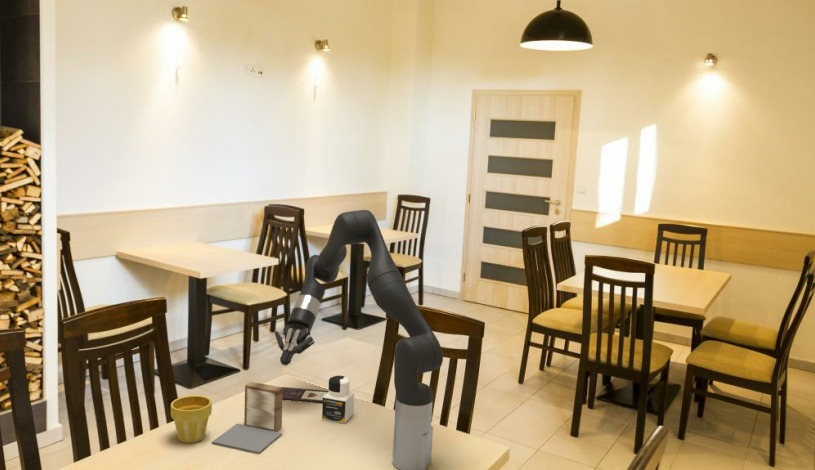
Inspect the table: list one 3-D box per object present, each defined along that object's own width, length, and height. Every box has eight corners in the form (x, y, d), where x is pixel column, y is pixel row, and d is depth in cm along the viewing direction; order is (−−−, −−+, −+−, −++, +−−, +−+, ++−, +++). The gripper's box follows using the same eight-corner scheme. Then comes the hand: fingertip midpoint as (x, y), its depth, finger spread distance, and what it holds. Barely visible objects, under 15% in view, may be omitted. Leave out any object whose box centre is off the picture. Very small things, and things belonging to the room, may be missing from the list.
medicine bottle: (321, 419, 194) (323, 380, 192) (331, 410, 201) (332, 372, 199) (344, 424, 192) (346, 384, 190) (353, 414, 199) (355, 375, 197)
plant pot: (162, 437, 178) (162, 401, 177) (197, 425, 186) (197, 391, 185) (184, 450, 172) (184, 413, 170) (219, 437, 179) (219, 402, 178)
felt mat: (282, 435, 183) (282, 432, 183) (259, 454, 172) (259, 451, 171) (236, 425, 187) (236, 423, 187) (211, 443, 176) (211, 441, 176)
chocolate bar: (279, 386, 215) (334, 391, 214) (279, 389, 216) (334, 394, 214) (271, 397, 207) (329, 402, 205) (271, 400, 207) (329, 405, 206)
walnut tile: (281, 428, 187) (282, 387, 185) (276, 433, 184) (277, 391, 182) (249, 422, 190) (250, 381, 188) (243, 426, 187) (244, 385, 185)
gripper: (280, 303, 204) (259, 354, 194) (320, 309, 200) (300, 361, 190) (288, 316, 210) (268, 366, 200) (327, 322, 206) (308, 373, 196)
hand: (283, 364), depth 195 cm, fingers closed
